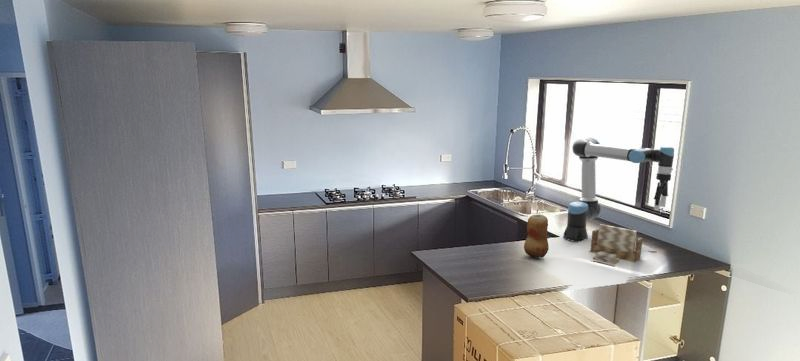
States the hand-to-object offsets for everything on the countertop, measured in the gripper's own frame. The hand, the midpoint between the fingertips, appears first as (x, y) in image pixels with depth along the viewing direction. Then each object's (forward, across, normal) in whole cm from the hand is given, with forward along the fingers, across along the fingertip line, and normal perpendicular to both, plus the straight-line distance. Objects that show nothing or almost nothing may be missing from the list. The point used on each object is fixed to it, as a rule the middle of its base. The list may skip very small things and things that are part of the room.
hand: (659, 208), depth 301 cm
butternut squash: (+28, -61, +47) cm, 82 cm away
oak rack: (+27, -27, +14) cm, 41 cm away
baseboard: (+28, +6, +14) cm, 32 cm away
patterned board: (+25, -27, +14) cm, 40 cm away
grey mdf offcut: (+24, -41, +15) cm, 50 cm away
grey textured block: (+28, -41, +15) cm, 52 cm away
